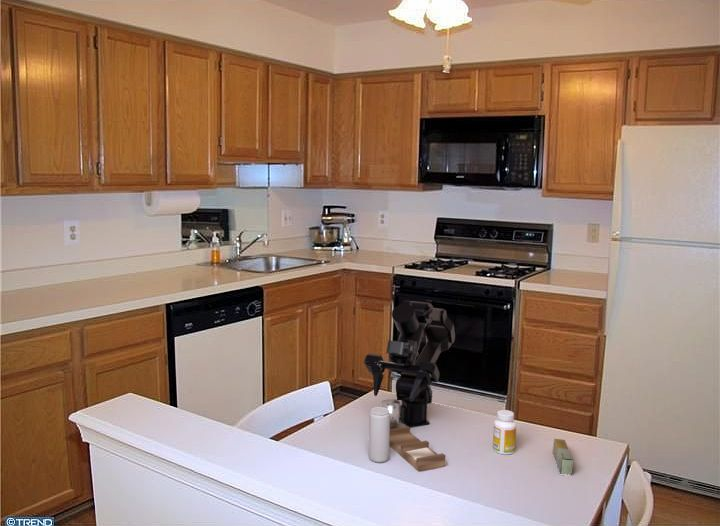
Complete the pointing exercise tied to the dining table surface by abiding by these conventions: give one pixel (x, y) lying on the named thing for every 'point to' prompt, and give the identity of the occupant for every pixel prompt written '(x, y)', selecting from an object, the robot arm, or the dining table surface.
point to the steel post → (392, 411)
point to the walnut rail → (415, 450)
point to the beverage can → (379, 434)
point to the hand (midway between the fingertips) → (392, 398)
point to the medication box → (562, 457)
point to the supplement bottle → (504, 433)
